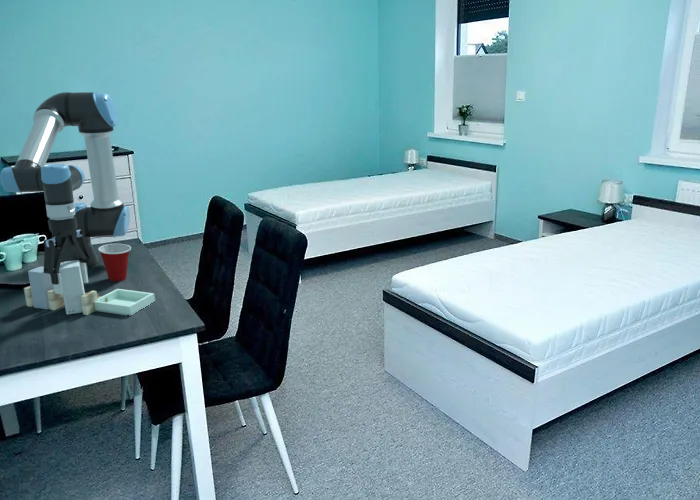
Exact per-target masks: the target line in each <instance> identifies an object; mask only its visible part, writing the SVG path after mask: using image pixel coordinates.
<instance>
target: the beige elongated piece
mask: <svg viewBox="0 0 700 500" xmlns="http://www.w3.org/2000/svg"><path fill="white" fill-rule="evenodd" d="M23 292H24V297H25V298H24V299H25V303H26V307H30V308H32V307H34V305H33V299H32V293H31V287H30V285H29V286H26V287H23ZM47 294H48V300H49V307H50V308H49V310H51V311H55V310H57V309H59V308H61V307H65V304H64V299H63V294H55V292H54V289H52V290H50V291H47ZM100 297H102V295H101V296H100V294H99V293H98V292H97V290H91V291H88V292H85V294H84V295H82V296H81V302H82V309H83V312H82V315H84V316H88V315H91V314H92V313H94V312H96V311H95V304H94V302H95V301H98V298H100ZM105 302H108V298H107V297H106V298H105Z"/></svg>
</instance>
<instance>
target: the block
mask: <svg viewBox="0 0 700 500" xmlns="http://www.w3.org/2000/svg"><path fill="white" fill-rule="evenodd" d="M27 272H28V273H27V274H28V280H29V284H30V285H29V286H30V287H31V293H32V299H33V308H35V309H43V310H49V309H50V307H49V300H48V294H47V291H50V290H52V289H54V285H53V284H52V282H51V275H50V274H47V273H44V266H38V267H35V268H33V269H30V270H28V271H27Z"/></svg>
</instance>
